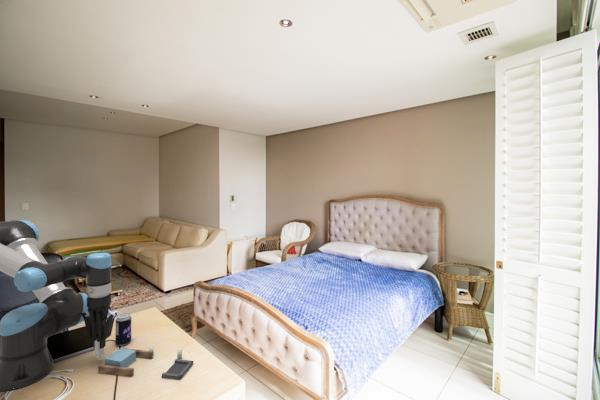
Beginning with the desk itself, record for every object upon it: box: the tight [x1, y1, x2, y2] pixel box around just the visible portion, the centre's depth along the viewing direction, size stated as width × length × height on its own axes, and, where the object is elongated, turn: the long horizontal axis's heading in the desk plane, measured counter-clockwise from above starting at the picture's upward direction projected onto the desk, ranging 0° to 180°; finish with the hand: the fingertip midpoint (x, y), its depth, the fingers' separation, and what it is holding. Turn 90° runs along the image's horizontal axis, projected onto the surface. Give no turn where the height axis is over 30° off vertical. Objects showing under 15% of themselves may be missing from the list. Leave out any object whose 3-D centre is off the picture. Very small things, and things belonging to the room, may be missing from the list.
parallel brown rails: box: [97, 347, 154, 378], centre depth 104 cm, size 13×12×2 cm
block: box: [104, 347, 137, 368], centre depth 104 cm, size 7×7×4 cm
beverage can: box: [114, 312, 132, 347], centre depth 118 cm, size 6×6×12 cm
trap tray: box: [161, 358, 194, 381], centre depth 102 cm, size 7×9×1 cm
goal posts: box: [148, 346, 183, 360], centre depth 110 cm, size 14×2×3 cm, turn 83°
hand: (99, 355), depth 105 cm, fingers closed
